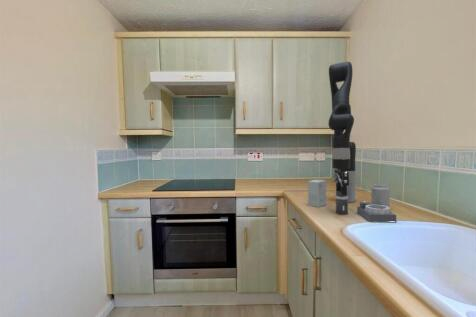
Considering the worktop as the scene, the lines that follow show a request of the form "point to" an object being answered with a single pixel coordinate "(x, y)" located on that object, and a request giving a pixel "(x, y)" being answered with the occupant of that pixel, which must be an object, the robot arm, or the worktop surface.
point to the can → (381, 194)
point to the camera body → (375, 211)
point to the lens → (341, 203)
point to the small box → (317, 193)
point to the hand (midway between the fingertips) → (341, 193)
